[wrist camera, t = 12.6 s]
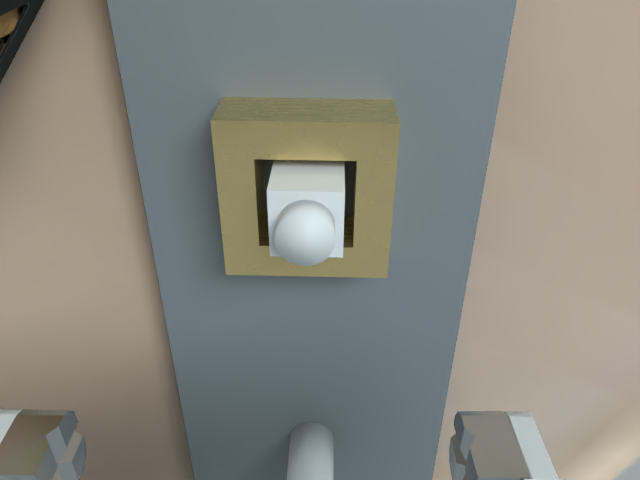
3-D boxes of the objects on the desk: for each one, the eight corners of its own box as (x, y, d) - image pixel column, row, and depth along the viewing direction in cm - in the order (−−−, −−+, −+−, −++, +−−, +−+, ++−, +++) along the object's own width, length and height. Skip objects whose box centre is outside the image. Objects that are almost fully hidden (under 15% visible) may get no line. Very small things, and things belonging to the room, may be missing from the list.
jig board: (204, 487, 36) (181, 594, 31) (107, -86, 19) (16, -74, 14) (422, 492, 36) (437, 601, 31) (518, -83, 19) (590, -70, 14)
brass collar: (235, 241, 25) (225, 274, 22) (222, 96, 21) (210, 120, 19) (383, 244, 24) (387, 278, 22) (394, 99, 21) (400, 123, 19)
